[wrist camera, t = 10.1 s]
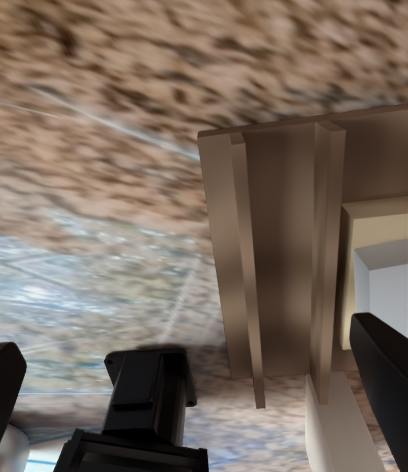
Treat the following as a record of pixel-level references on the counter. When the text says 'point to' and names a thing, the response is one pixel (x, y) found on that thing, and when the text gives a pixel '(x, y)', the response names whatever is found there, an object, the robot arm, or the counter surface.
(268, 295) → the rack
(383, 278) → the grey offcut
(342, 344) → the oak offcut
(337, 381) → the panel
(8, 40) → the counter surface
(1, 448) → the plastic bottle
